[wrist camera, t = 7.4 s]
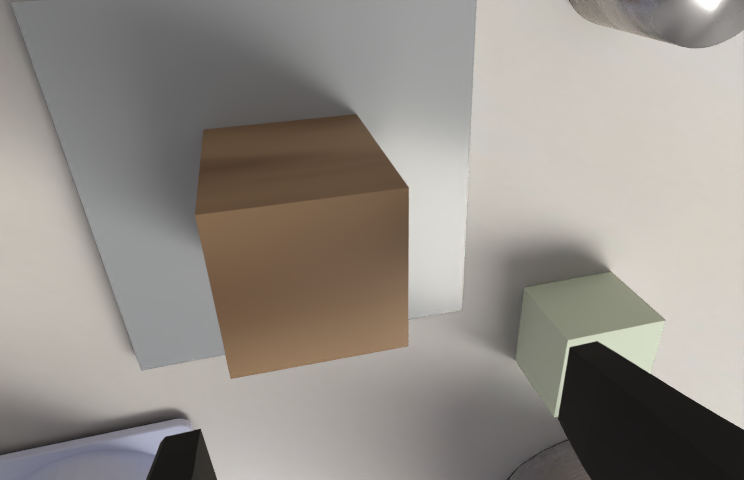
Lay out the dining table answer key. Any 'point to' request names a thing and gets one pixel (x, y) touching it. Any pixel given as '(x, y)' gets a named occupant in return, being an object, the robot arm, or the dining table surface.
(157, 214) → the slate tile
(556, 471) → the pillar candle
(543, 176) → the dining table surface
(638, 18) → the grey cylinder
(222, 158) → the walnut block
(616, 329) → the sage box
